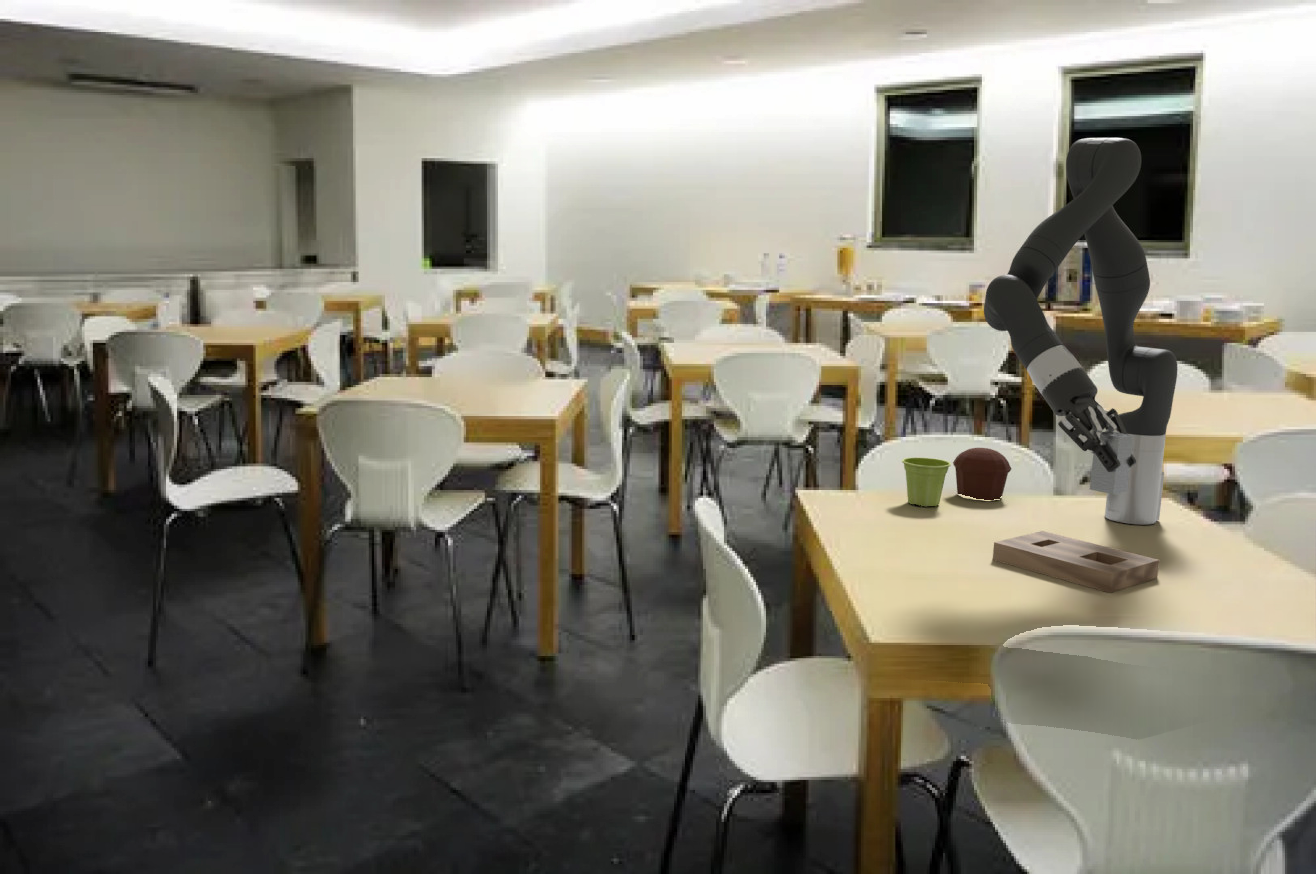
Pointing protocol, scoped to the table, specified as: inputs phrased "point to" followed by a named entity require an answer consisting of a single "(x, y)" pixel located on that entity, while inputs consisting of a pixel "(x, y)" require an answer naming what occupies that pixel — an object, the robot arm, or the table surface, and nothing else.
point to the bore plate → (1076, 561)
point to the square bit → (1119, 477)
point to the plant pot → (925, 480)
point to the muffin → (981, 473)
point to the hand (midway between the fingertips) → (1123, 467)
